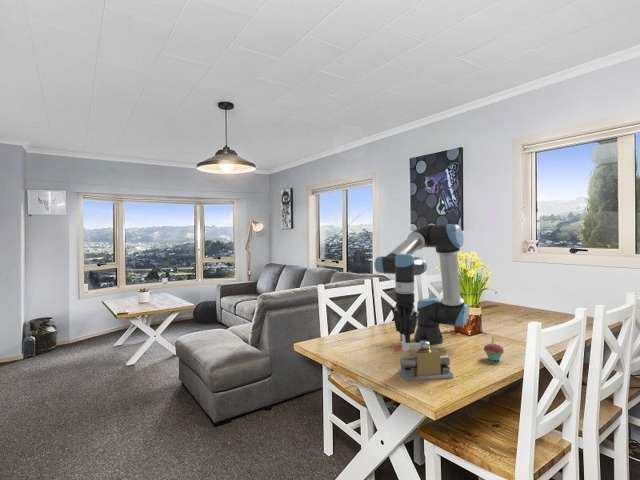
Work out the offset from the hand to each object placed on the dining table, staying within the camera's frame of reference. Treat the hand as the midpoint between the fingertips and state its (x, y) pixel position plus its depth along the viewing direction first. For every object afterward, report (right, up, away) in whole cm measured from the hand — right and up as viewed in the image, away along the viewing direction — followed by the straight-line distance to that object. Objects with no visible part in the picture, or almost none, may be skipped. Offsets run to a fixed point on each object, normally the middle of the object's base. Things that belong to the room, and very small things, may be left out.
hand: (405, 350), depth 147 cm
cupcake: (+46, -11, +22) cm, 53 cm away
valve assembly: (+9, -12, +5) cm, 16 cm away
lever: (+4, -1, +4) cm, 6 cm away
